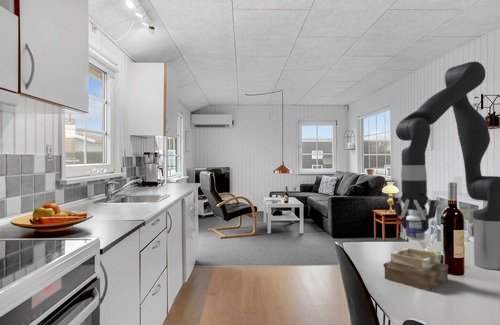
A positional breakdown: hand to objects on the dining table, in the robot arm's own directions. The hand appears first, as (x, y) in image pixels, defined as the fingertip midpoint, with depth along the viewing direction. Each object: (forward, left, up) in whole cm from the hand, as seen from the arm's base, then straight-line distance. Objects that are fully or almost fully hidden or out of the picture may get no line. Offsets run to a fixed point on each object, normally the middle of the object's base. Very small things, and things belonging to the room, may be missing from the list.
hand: (415, 229), depth 106 cm
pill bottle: (0, 0, -3) cm, 3 cm away
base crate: (0, 0, -17) cm, 17 cm away
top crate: (0, 0, -12) cm, 12 cm away
